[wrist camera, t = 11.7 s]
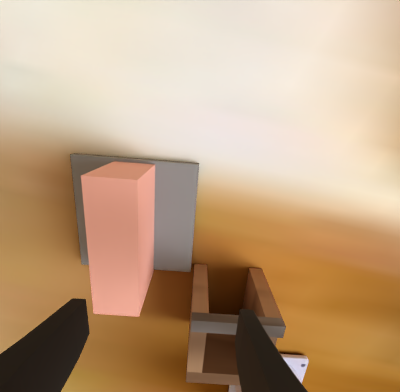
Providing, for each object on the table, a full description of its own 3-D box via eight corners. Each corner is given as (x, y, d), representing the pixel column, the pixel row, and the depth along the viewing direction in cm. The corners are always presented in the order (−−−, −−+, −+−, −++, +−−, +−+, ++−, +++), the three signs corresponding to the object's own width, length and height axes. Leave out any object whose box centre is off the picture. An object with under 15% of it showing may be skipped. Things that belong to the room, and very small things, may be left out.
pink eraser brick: (153, 271, 20) (138, 316, 16) (118, 269, 20) (93, 313, 16) (155, 164, 17) (137, 179, 13) (114, 161, 17) (80, 175, 12)
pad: (190, 268, 21) (190, 272, 20) (84, 260, 21) (81, 264, 20) (199, 163, 18) (198, 164, 17) (74, 153, 18) (70, 154, 17)
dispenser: (250, 326, 23) (267, 397, 17) (189, 322, 23) (185, 392, 17) (261, 268, 21) (285, 326, 15) (194, 263, 21) (191, 320, 15)
